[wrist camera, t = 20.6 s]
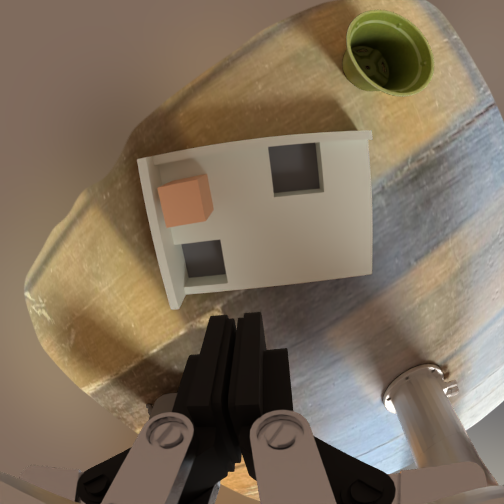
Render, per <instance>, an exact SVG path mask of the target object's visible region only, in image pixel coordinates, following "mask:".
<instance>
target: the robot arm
mask: <svg viewBox="0 0 504 504" xmlns="http://www.w3.org/2000/svg"><path fill="white" fill-rule="evenodd" d="M456 385H457V382H456V380H452V381H449V382H447V383H446V382H444V375H443V372H442V371H441V369H440V368H439V367H438V366H436V365H433V364H424V365H420V366H416V367H414V368H411V369H410V370H408V371H406V372H404V373H403V374H401V375H400V376H399V377H397V378H396V379H395V380H394V381H393V382H392V383H391V384H390V386H389V387H388V388H387V390H386V392H385V394H384V397H383V402H384V406H385V408H386V409H387V410H388V411H389V412H391V413H395V414H397V416H398V418H399V421H400V424H401V426H402V429H403V431H404V434H405V437H406V439H407V442H408V445H409V447H410V450H411V453H412V456H413V458H414V461H415V464H416V467H417V469H412V470H402V471H400V473H398V474H386V473H384V472H383V471H381V470H379V469H377V468H374V467H372V466H370V465H368V464H366V463H364V462H362V461H360V460H358V459H356V458H354V457H352V456H350V455H348V454H346V453H344V452H342V451H340V450H338V449H336V448H335V447H333V446H331V445H329V444H327V443H325V442H323V441H322V440H320V439H318V438H316V437H315V436H313V433H312V431H311V428H310V425H309V423H308V421H307V420H306V419H305V418H304V417H303V416H302V415H301V414H299V413H296V412H294V411H293V403H292V392H291V382H290V371H289V361H288V351H287V348H283V349H273V350H266V344H265V336H264V329H263V322H262V315H261V312H254V313H244V318H238V323H237V331H236V325H235V321H234V319H229V318H228V316H227V315H218V316H210V319H209V323H208V326H207V330H206V333H205V337H204V341H203V344H202V348H201V352H200V354H197V355H190V356H189V358H188V360H187V363H186V366H185V370H184V373H183V376H182V379H181V383H180V386H179V389H178V392H177V396H176V399H175V402H174V406H173V409H172V412H167V413H162V414H159V415H156V416H154V417H152V418H151V419H150V420H148V421H147V422H146V424H145V425H144V426H143V428H142V429H141V431H140V433H139V435H138V437H137V439H136V440H135V442H134V444H133V446H132V447H131V448H129V449H127V450H125V451H124V452H122V453H120V454H118V455H116V456H114V457H112V458H110V459H108V460H106V461H104V462H102V463H100V464H98V465H96V466H94V467H92V468H90V469H88V470H87V471H85V472H81V471H80V470H79V469H66V468H56V467H47V466H39V465H30V466H28V467H26V468H25V469H24V470H23V471H22V472H21V474H20V477H19V478H17V477H15V476H12V475H9V474H6V473H3V472H0V504H215V501H216V498H217V494H218V491H219V488H220V481H221V480H222V479H223V478H225V477H226V476H227V475H228V472H234V469H235V463H240V462H241V456H242V455H243V458H244V461H245V464H246V467H247V470H248V473H249V476H251V477H252V478H253V479H255V480H256V481H257V485H258V491H259V497H260V503H261V504H504V485H498V483H497V481H496V480H495V478H494V477H493V476H492V474H491V473H490V472H489V470H488V469H487V467H486V466H485V464H484V463H483V461H482V460H481V458H480V457H479V455H478V453H477V451H476V449H475V448H474V446H473V444H472V442H471V440H470V438H469V436H468V434H467V432H466V431H465V429H464V427H463V425H462V423H461V421H460V419H459V417H458V415H457V414H456V412H455V410H454V408H453V406H452V404H451V403H450V401H449V399H448V397H451V396H454V395H457V394H458V392H459V390H458V387H457V386H456Z"/></svg>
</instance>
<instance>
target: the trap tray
mask: <svg viewBox="0 0 504 504" xmlns="http://www.w3.org/2000/svg"><path fill="white" fill-rule="evenodd" d="M368 140H373V138H372V130H369V131H338V132H320V133H306V134H294V135H283V136H274V137H265V138H256V139H248V140H241V141H234V142H227V143H220V144H214V145H208V146H202V147H196V148H191V149H185V150H180V151H175V152H170V153H165V154H160V155H156V156H151V157H145V158H141V159H137V163H138V169H139V175H140V180H141V185H142V191H143V196H144V201H145V206H146V211H147V216H148V220H149V225H150V229H151V234H152V238H153V242H154V247H155V251H156V255H157V259H158V263H159V267H160V271H161V275H162V279H163V282H164V286H165V290H166V294H167V297H168V301H169V304H170V308H171V309H179V308H180V306H181V304H182V302H183V299H184V297H185V295H186V294H197V293H209V292H220V291H231V290H241V289H251V288H261V287H271V286H280V285H289V284H298V283H306V282H315V281H323V280H331V279H339V278H347V277H354V276H362V275H369V274H372V192H371V172H370V158H369V146H368ZM204 174H207V176H208V182H209V187H210V192H211V197H212V202H213V207H214V210H213V212H212V213H211V214H210V216H209V217H208V219H207V220H206V221H204V222H198V223H192V224H186V225H180V226H175V227H169V228H166V224H165V220H164V215H163V211H162V207H161V202H160V198H159V193H158V189H157V188H158V187H160V186H162V185H164V184H167V183H169V182H171V181H174V180H179V179H183V178H188V177H193V176H198V175H204Z"/></svg>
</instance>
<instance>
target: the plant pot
mask: <svg viewBox="0 0 504 504" xmlns="http://www.w3.org/2000/svg"><path fill="white" fill-rule="evenodd" d="M346 47H347V50H346V52H345V54H344V57H343V62H342V66H343V71H344V73H345V75H346V77H347V79H348V80H349V81H350V82H351V83H352V84H354V85H355V86H357V87H358V88H360V89H362V90H365V91H382V92H384V93H386V94H389V95H393V96H402V97H403V96H411V95H415V94H417V93H419V92H421V91H422V90H423V89H425V88H426V87H427V85H428V84H429V83H430V81H431V79H432V76H433V73H434V58H433V53H432V50H431V48H430V45H429V43H428V41H427V40H426V38H425V37H424V35H423V34H422V32H421V31H420V30H419V29H418V28H417V27H416V26H415V25H414V24H413V23H412V22H410V21H409V20H408V19H406V18H404V17H402V16H400V15H398V14H396V13H394V12H391V11H386V10H370V11H366V12H363V13H361V14H359V15H358V16H357V17H356V18H355V19H354V20H353V21H352V22H351V23H350V25H349V27H348V30H347V34H346ZM362 49H365V50H367V52H357V50H362ZM382 63H383V64H384V66H385V68H386V72H383V66H382ZM366 66H369V67H370V68H369V69H366Z"/></svg>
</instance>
